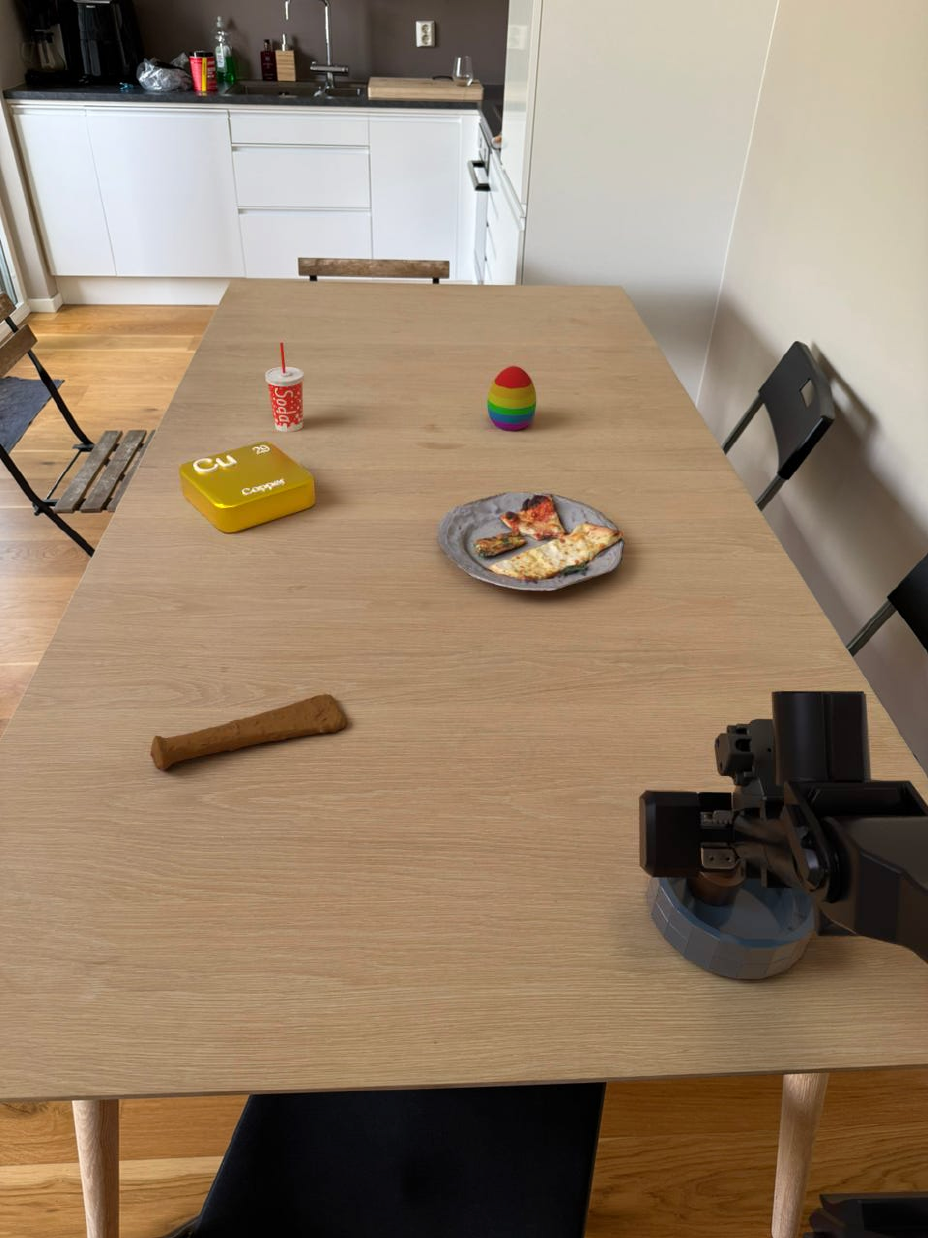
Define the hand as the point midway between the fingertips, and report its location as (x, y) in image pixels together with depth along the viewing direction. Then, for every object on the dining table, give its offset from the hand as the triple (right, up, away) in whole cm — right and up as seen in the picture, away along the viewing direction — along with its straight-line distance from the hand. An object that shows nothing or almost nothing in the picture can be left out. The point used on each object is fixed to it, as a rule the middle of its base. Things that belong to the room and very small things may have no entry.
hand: (729, 823), depth 75 cm
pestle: (-1, -6, +3) cm, 7 cm away
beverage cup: (-51, +49, +73) cm, 102 cm away
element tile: (-53, +34, +54) cm, 83 cm away
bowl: (0, -8, +2) cm, 8 cm away
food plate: (-13, +26, +46) cm, 55 cm away
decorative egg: (-14, +50, +77) cm, 93 cm away
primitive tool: (-44, +5, +17) cm, 47 cm away
